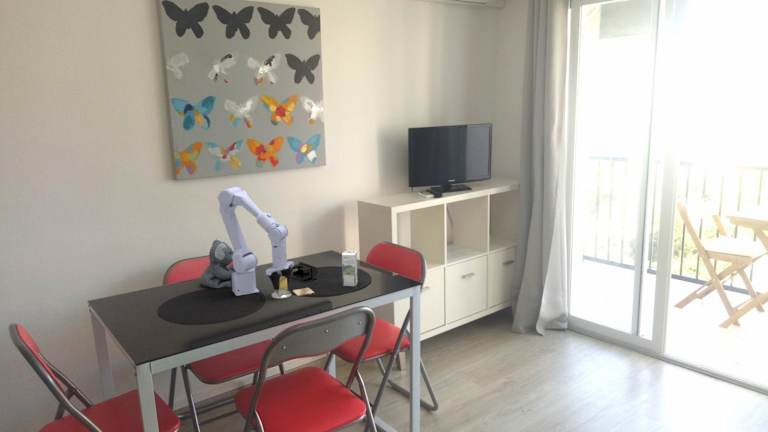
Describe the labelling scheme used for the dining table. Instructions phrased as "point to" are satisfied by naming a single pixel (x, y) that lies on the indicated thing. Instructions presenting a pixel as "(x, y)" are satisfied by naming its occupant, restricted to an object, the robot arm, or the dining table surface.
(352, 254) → the syrup box
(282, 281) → the yellow cube
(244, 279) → the robot arm
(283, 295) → the grey lumpy disc
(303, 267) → the black open frame block
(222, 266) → the koala plush
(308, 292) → the pad
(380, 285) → the dining table surface
